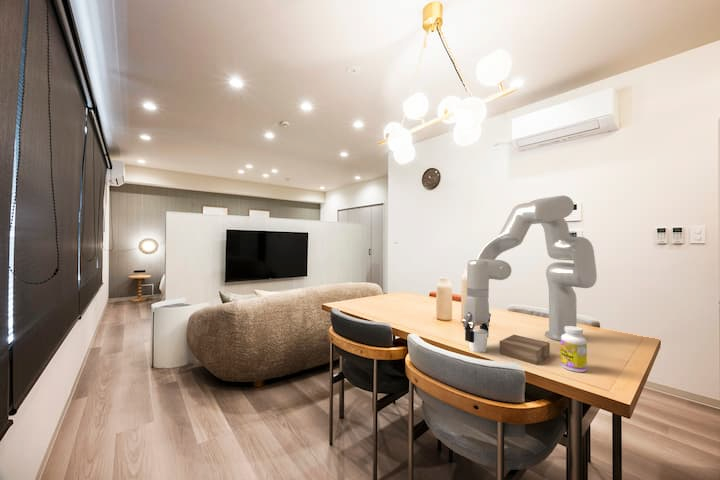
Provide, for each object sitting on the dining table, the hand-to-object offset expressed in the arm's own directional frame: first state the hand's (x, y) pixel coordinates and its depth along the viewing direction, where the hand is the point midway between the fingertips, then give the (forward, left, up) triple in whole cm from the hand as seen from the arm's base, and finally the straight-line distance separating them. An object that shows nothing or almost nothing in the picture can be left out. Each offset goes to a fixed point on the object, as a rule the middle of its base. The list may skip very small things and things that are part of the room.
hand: (476, 339), depth 108 cm
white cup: (0, 0, -4) cm, 4 cm away
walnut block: (-8, +13, -4) cm, 16 cm away
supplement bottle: (-9, +28, -4) cm, 29 cm away
